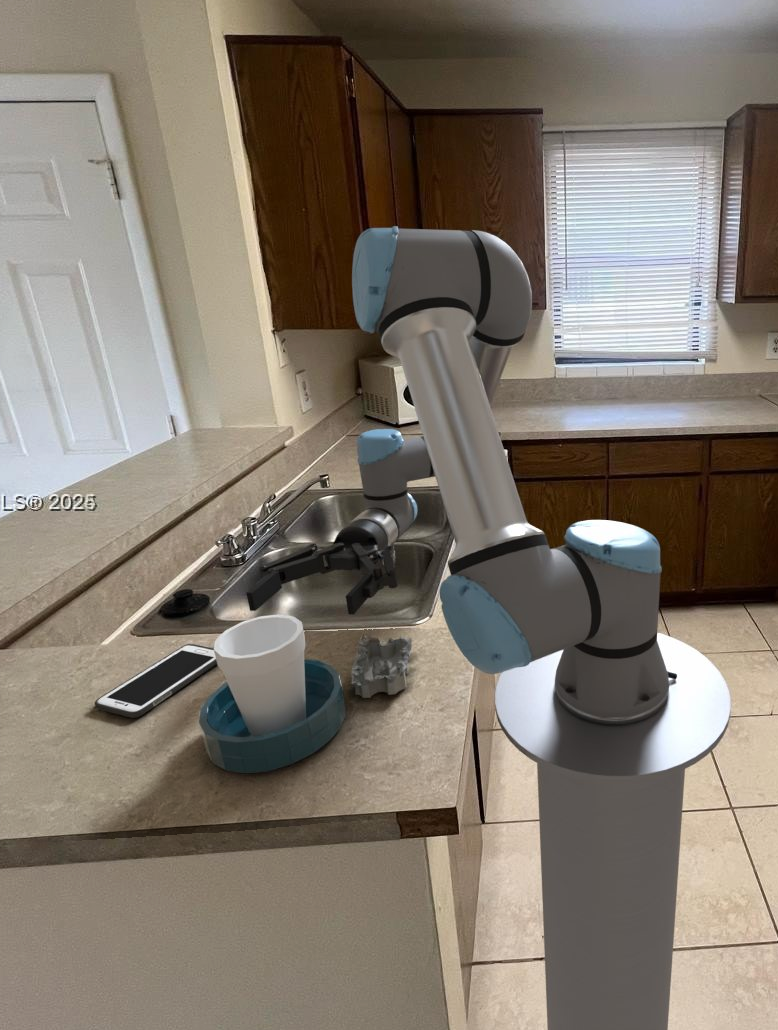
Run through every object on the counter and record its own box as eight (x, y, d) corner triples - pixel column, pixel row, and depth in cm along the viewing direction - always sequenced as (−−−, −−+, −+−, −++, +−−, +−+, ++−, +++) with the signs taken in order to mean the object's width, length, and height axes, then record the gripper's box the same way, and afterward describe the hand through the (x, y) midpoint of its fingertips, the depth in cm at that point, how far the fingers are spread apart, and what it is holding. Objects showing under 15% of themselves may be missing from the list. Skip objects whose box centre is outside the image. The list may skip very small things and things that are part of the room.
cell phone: (229, 656, 91) (228, 651, 91) (136, 720, 78) (134, 714, 77) (189, 648, 93) (188, 642, 93) (92, 708, 80) (90, 702, 80)
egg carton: (364, 655, 91) (361, 632, 90) (416, 652, 92) (413, 628, 91) (348, 701, 81) (344, 675, 80) (406, 696, 82) (402, 670, 81)
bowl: (368, 696, 82) (363, 665, 80) (299, 785, 68) (291, 749, 66) (264, 684, 85) (257, 654, 83) (176, 767, 70) (166, 732, 69)
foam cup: (225, 757, 71) (200, 663, 66) (248, 706, 79) (228, 619, 75) (312, 745, 73) (293, 652, 68) (325, 696, 81) (310, 611, 77)
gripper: (442, 562, 100) (395, 631, 80) (297, 558, 102) (216, 624, 82) (438, 519, 97) (388, 580, 78) (289, 516, 100) (204, 575, 80)
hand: (299, 603), depth 80 cm, fingers open, 13 cm apart
